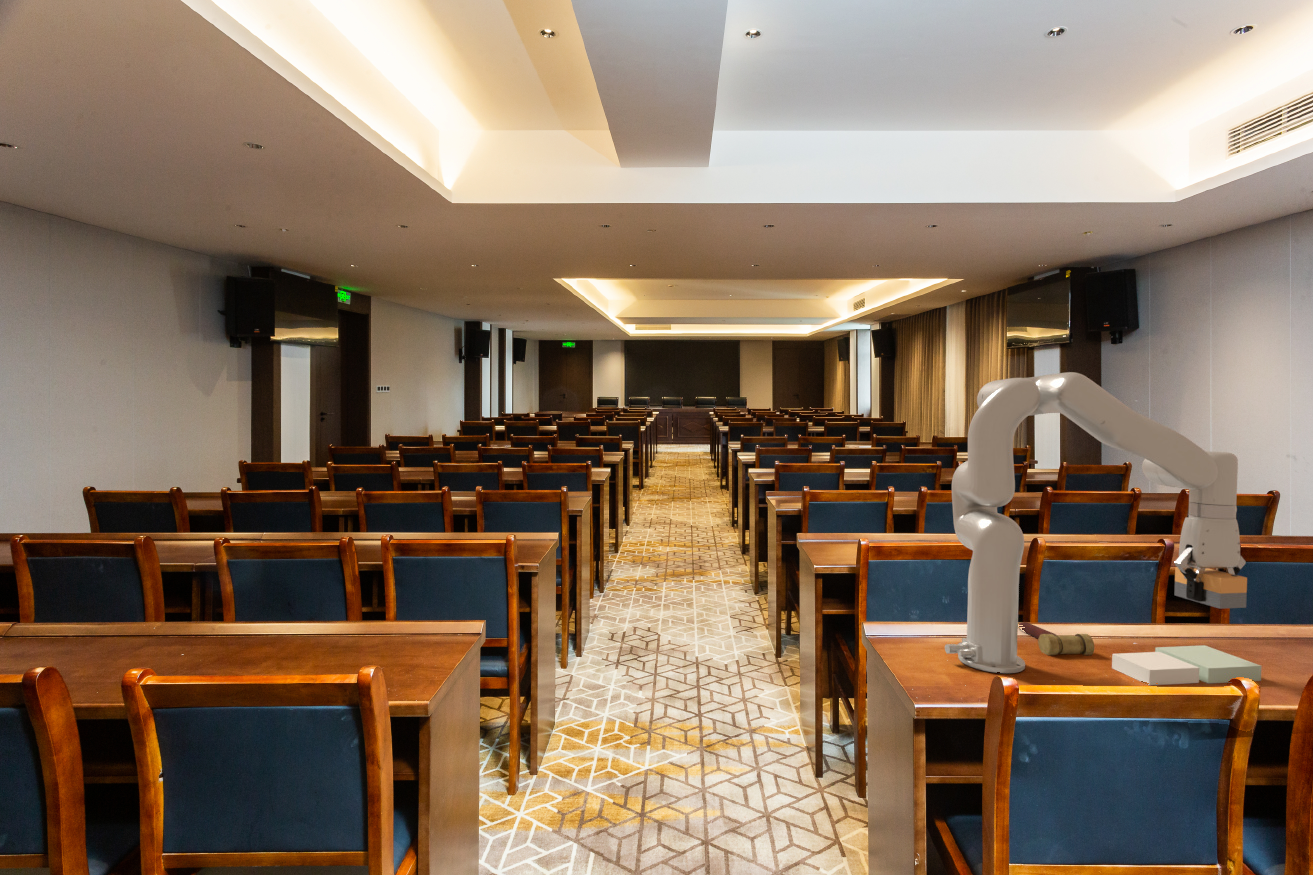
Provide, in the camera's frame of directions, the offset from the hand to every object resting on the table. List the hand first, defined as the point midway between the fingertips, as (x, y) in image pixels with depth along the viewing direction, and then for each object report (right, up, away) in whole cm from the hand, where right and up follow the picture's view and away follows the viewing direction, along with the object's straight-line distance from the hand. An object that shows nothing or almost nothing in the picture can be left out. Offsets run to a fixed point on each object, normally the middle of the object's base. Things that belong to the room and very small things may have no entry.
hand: (1209, 598), depth 139 cm
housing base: (0, -1, 0) cm, 1 cm away
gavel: (-24, -15, +18) cm, 33 cm away
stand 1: (-13, -15, -2) cm, 20 cm away
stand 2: (0, -15, +1) cm, 15 cm away
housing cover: (0, +2, 0) cm, 2 cm away
